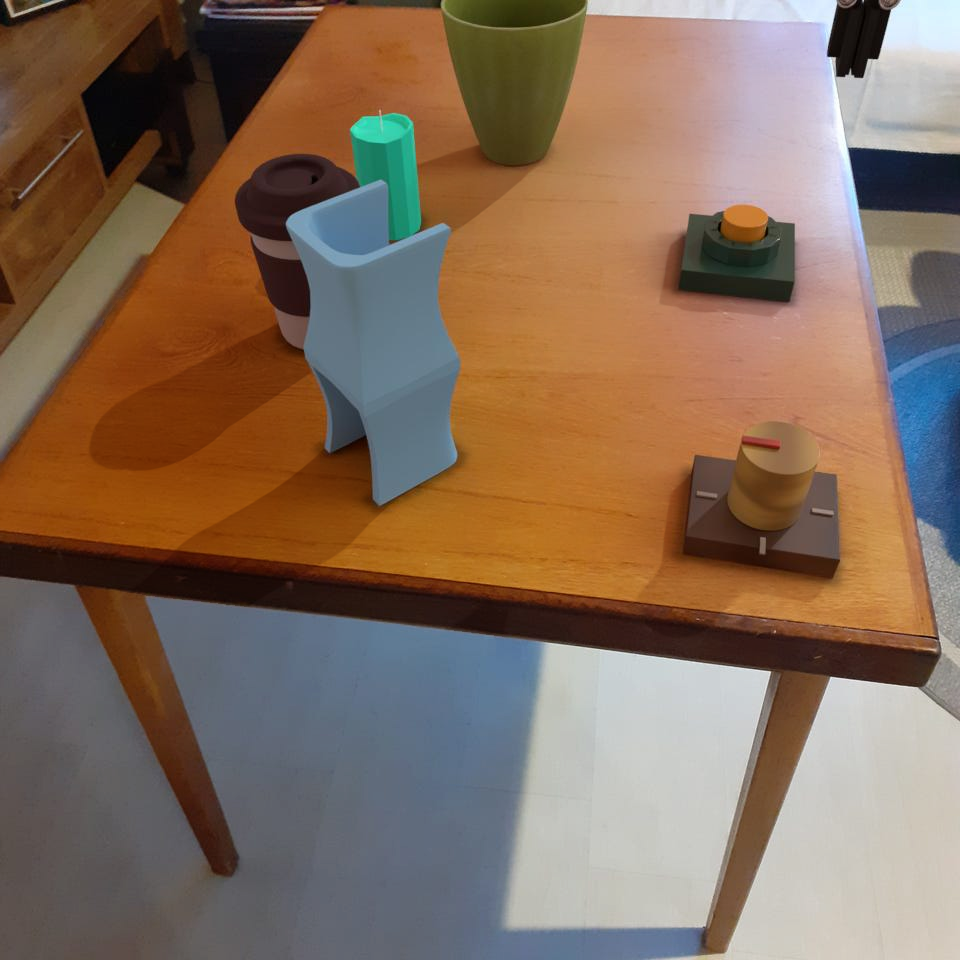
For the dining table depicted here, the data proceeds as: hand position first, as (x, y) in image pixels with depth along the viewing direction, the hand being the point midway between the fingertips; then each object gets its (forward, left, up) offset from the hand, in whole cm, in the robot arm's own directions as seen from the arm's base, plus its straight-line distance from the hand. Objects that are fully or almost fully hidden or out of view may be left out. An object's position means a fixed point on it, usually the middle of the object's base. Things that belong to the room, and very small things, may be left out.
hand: (848, 68), depth 58 cm
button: (+3, -16, -22) cm, 27 cm away
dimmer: (0, +16, -25) cm, 30 cm away
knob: (0, +16, -23) cm, 28 cm away
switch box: (+3, -16, -25) cm, 30 cm away
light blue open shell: (+28, +15, -26) cm, 41 cm away
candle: (+38, -17, -26) cm, 49 cm away
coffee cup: (+39, +1, -26) cm, 46 cm away
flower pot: (+29, -35, -26) cm, 52 cm away
